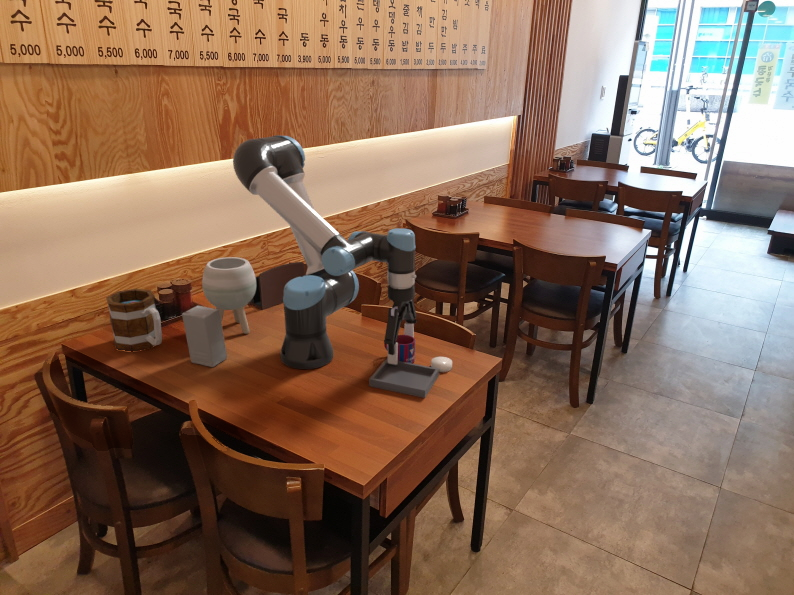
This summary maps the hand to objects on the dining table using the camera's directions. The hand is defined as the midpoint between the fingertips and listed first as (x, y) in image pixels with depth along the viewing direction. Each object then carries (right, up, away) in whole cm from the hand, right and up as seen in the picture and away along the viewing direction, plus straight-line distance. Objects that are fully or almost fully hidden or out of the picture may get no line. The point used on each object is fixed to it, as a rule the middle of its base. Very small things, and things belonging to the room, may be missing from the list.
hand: (401, 353), depth 169 cm
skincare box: (-55, -2, -3) cm, 55 cm away
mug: (-78, +2, +6) cm, 78 cm away
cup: (-1, -2, +1) cm, 2 cm away
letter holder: (-45, +15, +43) cm, 64 cm away
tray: (+1, -6, -11) cm, 13 cm away
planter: (-54, +6, +18) cm, 57 cm away
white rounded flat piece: (+11, -4, -3) cm, 13 cm away
